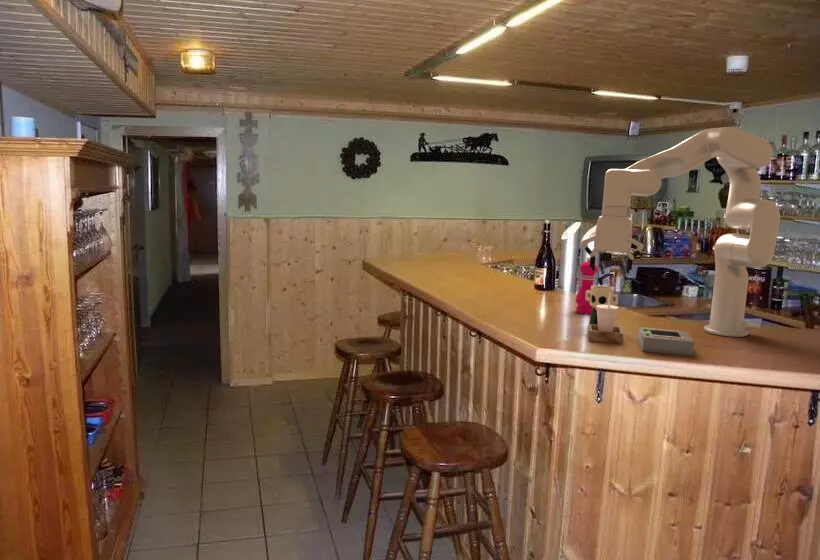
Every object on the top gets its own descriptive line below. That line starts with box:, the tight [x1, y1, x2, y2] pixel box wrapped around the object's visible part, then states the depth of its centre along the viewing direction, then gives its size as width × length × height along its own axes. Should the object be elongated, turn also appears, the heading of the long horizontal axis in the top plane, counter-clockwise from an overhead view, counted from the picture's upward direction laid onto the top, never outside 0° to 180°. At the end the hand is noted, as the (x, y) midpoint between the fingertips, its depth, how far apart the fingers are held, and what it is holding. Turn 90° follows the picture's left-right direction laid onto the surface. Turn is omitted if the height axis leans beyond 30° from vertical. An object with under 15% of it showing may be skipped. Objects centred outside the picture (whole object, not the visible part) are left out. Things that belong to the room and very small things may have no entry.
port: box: [637, 326, 695, 357], centre depth 179 cm, size 13×13×5 cm
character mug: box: [585, 284, 619, 325], centre depth 202 cm, size 11×7×13 cm, turn 50°
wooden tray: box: [587, 323, 624, 345], centre depth 187 cm, size 9×9×3 cm
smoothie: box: [596, 292, 619, 332], centre depth 187 cm, size 6×6×14 cm
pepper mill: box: [575, 256, 598, 315], centre depth 225 cm, size 7×7×20 cm
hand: (610, 271), depth 185 cm, fingers open, 9 cm apart
